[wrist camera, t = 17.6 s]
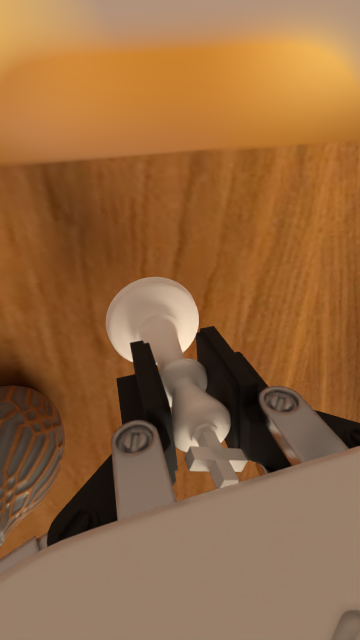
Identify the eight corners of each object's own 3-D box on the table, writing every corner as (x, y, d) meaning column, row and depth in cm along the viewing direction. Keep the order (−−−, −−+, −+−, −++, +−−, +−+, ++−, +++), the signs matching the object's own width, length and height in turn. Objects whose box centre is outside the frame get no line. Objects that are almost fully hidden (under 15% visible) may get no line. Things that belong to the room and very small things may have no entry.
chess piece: (178, 365, 18) (264, 541, 10) (95, 352, 16) (108, 554, 8) (209, 289, 17) (344, 418, 8) (120, 265, 15) (173, 399, 6)
